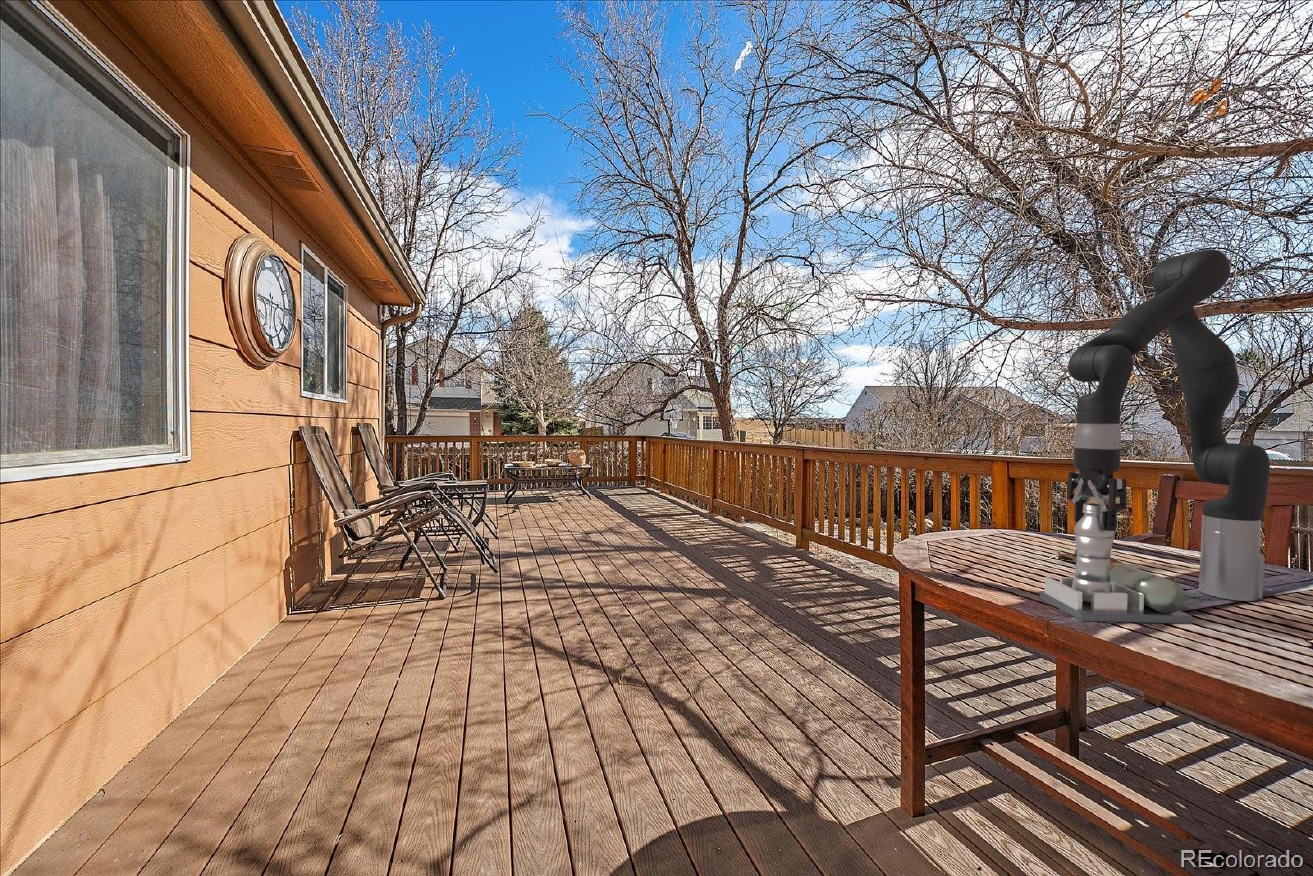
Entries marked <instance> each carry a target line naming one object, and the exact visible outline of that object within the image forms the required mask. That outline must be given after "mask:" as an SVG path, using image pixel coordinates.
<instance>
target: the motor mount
mask: <svg viewBox="0 0 1313 876" xmlns="http://www.w3.org/2000/svg"><path fill="white" fill-rule="evenodd" d="M1125 564H1126V563H1125ZM1125 564H1121V565H1117V566H1115V567H1114V568H1112V569H1111V570H1110V581H1111V584H1112V591H1113V593H1108V592H1092V596H1091V603H1089V602H1085V601H1082V593H1081V592H1079V591H1077V590H1075V589H1073V588H1072V582H1073V578H1074V577H1073V576H1071V577H1066V576H1065V577H1064V576H1061V577H1059V581H1058V580H1057V579H1055V578H1052V577H1050V576H1044V590H1040V591H1039V599H1040V600H1042V601H1044V600H1045V601H1044V602H1046V603H1048V604H1051V606H1054V607H1055V608H1057V609H1059V610H1061V611H1063V612H1064V613H1066V614H1068V615H1070V616H1072V617H1073V618H1075V619H1076V620H1079V621H1080V622H1101V623H1102V622H1107V623H1109V622H1110V623H1113V622H1114V623H1144V624H1146V623H1147V624H1183V625H1184V624H1185V625H1186V624H1187V625H1189V624H1190V625H1192V624H1193V615H1191V614H1188V613H1186V612H1183V611H1182V610H1180V609H1181V608H1182V607H1183V606H1184V604H1185V602H1186V593H1185V590H1184V588H1183V586H1181V585H1180V584H1179V583H1177V582H1176V581H1173V580H1170V579H1167V578H1165V577H1162V576H1160V575H1157V574H1154V573H1151V572H1148V571H1145V570H1142V569H1139V568H1137V567H1135V566H1132V565H1129V564H1126V565H1125Z"/></svg>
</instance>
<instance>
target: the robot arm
mask: <svg viewBox="0 0 1313 876" xmlns="http://www.w3.org/2000/svg"><path fill="white" fill-rule="evenodd" d="M1230 273H1231V265H1230V261H1229V258H1228V257H1227V255H1226V254H1225V253H1224V252H1223V251H1221V250H1218V249H1202V250H1198V251H1194V252H1189V253H1185V254H1182V255H1177V256H1173V257H1169V258H1167V259H1164V260H1161V261H1159V262H1158V263H1157V264H1156V265H1155V267H1154V270H1153V273H1152V285H1153V290H1154V294H1155V296H1153V297H1151V298H1148V299H1147V300H1145V301H1144V302H1142V303H1141V304H1138V305H1137V306H1135V307H1133V308H1132V309H1130V310H1129V311H1127V312H1126V313H1125V314H1124V315H1122V316H1121V317H1120V318H1119V319H1118V320H1117V321H1116V322H1115V323H1114V324H1113V325H1112V326H1111V327H1110V328H1109V329H1108V330H1106V331H1105V332H1103V333H1101V334H1099V335H1097V336H1095V337H1094V338H1092V339H1091V340H1088V341H1087V342H1086V343H1083V344H1082V345H1081V346H1080V347H1078V348H1077V349H1075V351H1073V353H1072V354H1071V356H1070V358H1069V360H1068V363H1067V371H1068V374H1069V376H1070V377H1071V378H1072V379H1074V380H1075V381H1077V382H1081V383H1082V382H1083V383H1094V382H1095V383H1096V382H1098V385H1097V387H1096V389H1095V390H1094V391H1093V392H1091V393H1090V392H1089V393H1087V394H1083V395H1081V396H1079V398H1078V399H1077V404H1076V417H1075V418H1076V421H1075V423H1076V425H1075V430H1074V435H1073V437H1074V439H1073V464H1072V466H1073V468H1074V469H1076V470H1079V471H1069V472H1068V477H1067V493H1066V494H1067V495H1066V498H1067V500H1068V501H1069V500H1070V501H1071V502H1072V504H1073V505H1074V511H1073V512H1074V514H1073V515H1074V522H1075V523H1076V522H1078V521H1079V520H1080V519H1081V518H1082V517H1083V516H1084V513H1083V504H1084V503H1088V501H1089V500H1090V498H1091V497H1095V499H1096V501H1098V502H1099V503H1100V505H1101V507H1102V509H1103V511H1102V530H1105V531H1114V532H1115V531H1116V530H1117V517H1118V515H1117V514H1118V512H1119V511H1125V510H1127V479H1126V478H1115V476H1114V472H1116V471H1117V472H1118V471H1119V470H1120V469H1121V448H1122V447H1121V446H1122V444H1121V443H1122V433H1121V424H1120V423H1121V405H1122V400H1123V398H1124V395H1125V392H1126V390H1127V387H1128V383H1129V381H1130V379H1131V376H1132V374H1133V373H1132V372H1133V369H1134V358H1133V356H1135V355H1137V354H1138V353H1140V352H1141V351H1142V350H1144V348H1146V346H1148V344H1150V343H1151V342H1152V341H1153V340H1154V338H1156V337H1157V336H1158V335H1159V334H1160V333H1161V332H1162V331H1164V329H1166V327H1167V331H1168V335H1169V339H1170V342H1171V346H1172V349H1173V354H1174V359H1175V365H1176V371H1177V374H1178V375H1177V376H1178V380H1179V383H1180V384H1179V385H1180V387H1181V390H1182V394H1183V400H1184V403H1185V409H1186V414H1187V418H1188V424H1189V434H1190V435H1189V436H1190V444H1191V445H1190V446H1191V448H1190V449H1191V456H1192V464H1193V468H1194V471H1195V473H1196V475H1197V477H1198V478H1199V479H1200V480H1201V481H1203V482H1205V483H1208V484H1213V485H1214V484H1215V485H1221V486H1228V489H1227V492H1226V495H1224V496H1223V497H1220V498H1218V499H1211V500H1208V501H1204V502H1203V504H1202V514H1201V515H1202V516H1201V533H1200V534H1201V536H1200V537H1201V538H1200V556H1199V557H1200V558H1199V559H1200V560H1199V581H1198V583H1199V584H1198V591H1199V592H1200V591H1201V592H1200V593H1203V594H1205V595H1207V596H1212V597H1214V596H1215V598H1218V599H1219V598H1220V599H1225V600H1230V601H1231V600H1232V601H1239V602H1240V601H1241V602H1242V601H1244V602H1255V601H1257V600H1263V599H1264V598H1263V596H1264V577H1265V576H1264V575H1265V574H1264V573H1265V555H1264V554H1261V552H1260V551H1261V531H1262V530H1261V529H1262V514H1263V511H1264V509H1265V506H1266V503H1267V496H1268V488H1269V487H1268V486H1269V482H1270V472H1271V464H1270V458H1269V454H1268V452H1267V451H1266V450H1265V449H1264V448H1263V447H1262V446H1260V445H1257V444H1249V443H1232V442H1231V443H1230V442H1226V441H1225V437H1224V432H1223V418H1224V415H1225V413H1226V411H1227V409H1228V407H1229V405H1230V404H1231V403H1232V400H1233V399H1234V397H1235V394H1236V392H1237V391H1238V388H1239V385H1240V378H1239V372H1238V369H1237V368H1238V367H1237V364H1236V359H1235V355H1234V352H1233V350H1232V349H1231V348H1230V346H1229V345H1228V344H1227V343H1226V342H1225V341H1224V340H1222V338H1220V336H1218V335H1217V334H1216V333H1214V332H1213V330H1211V329H1210V328H1208V326H1206V325H1205V323H1204V322H1203V321H1202V320H1201V319H1200V318H1199V316H1198V315H1197V313H1196V309H1195V307H1196V306H1197V305H1198V304H1200V303H1201V302H1203V301H1205V300H1206V299H1208V298H1209V297H1211V296H1212V295H1214V294H1215V293H1217V292H1219V291H1220V290H1221V289H1222V288H1223V287H1224V286H1225V285H1226V284H1227V282H1228V280H1229V278H1230V275H1231V274H1230ZM1118 498H1119V499H1118ZM1117 499H1118V500H1119V503H1118V500H1117Z"/></svg>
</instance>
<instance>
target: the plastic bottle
mask: <svg viewBox="0 0 1313 876" xmlns="http://www.w3.org/2000/svg"><path fill="white" fill-rule="evenodd" d="M1102 511H1103V509H1102V507H1101V505H1100V504H1096V503H1084V504H1083V513H1084V516H1083V517H1082V518H1081V519H1080V520H1079V521H1078V523H1077V524H1075V526H1074V528H1073V529H1074V538H1075V546H1076V548H1075V551H1077V561H1075V570H1074V576H1073V577H1072V578H1073V582H1072V588H1073V589H1075V590H1077V591H1079V592H1081V593H1082V601H1085V602H1089V603H1091V596H1092V592H1108V593H1113V591H1112V584H1111V581H1110V557H1111V556H1112V555H1111V554H1112V549H1113V548H1112V547H1113V544H1114V539H1115V534H1116V533H1115V531H1105V530H1102Z"/></svg>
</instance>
